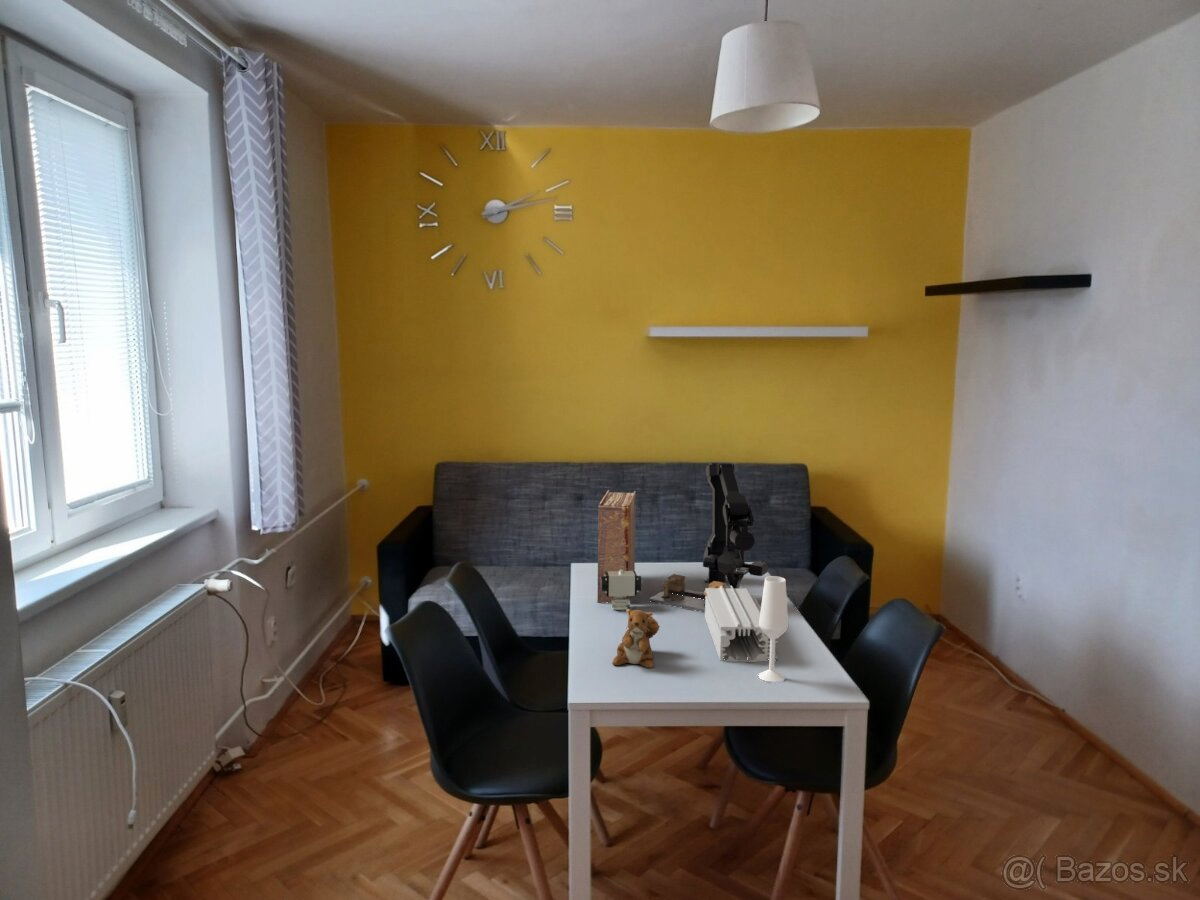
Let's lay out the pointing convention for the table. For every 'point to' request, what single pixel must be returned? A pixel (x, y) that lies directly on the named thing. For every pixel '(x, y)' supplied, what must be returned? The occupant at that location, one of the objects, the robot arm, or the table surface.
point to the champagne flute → (773, 619)
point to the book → (616, 536)
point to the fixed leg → (674, 583)
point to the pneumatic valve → (620, 587)
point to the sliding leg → (716, 585)
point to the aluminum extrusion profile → (736, 625)
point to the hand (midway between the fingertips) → (734, 592)
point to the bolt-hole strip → (679, 601)
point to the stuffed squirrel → (637, 640)
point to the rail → (689, 593)
